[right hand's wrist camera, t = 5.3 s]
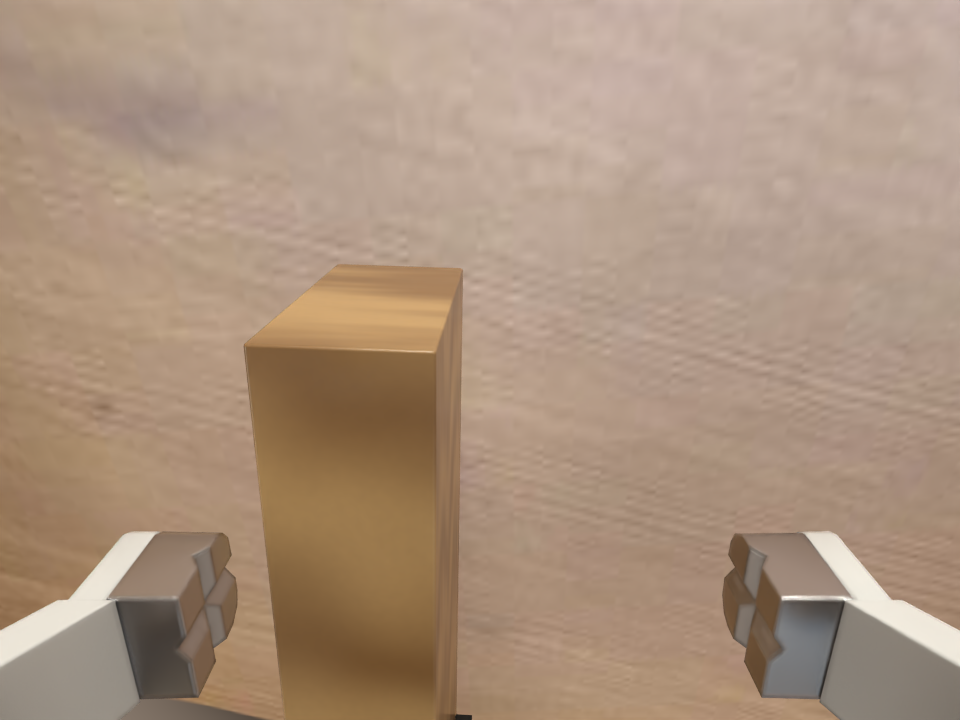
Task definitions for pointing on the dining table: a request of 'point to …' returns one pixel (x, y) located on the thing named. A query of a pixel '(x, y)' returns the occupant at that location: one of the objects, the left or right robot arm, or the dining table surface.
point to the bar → (363, 491)
